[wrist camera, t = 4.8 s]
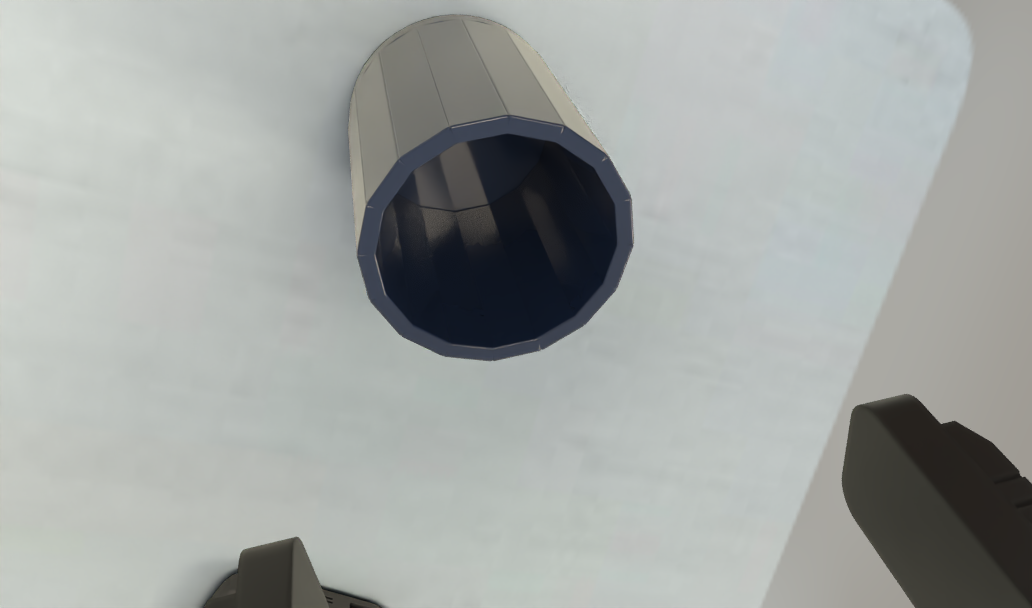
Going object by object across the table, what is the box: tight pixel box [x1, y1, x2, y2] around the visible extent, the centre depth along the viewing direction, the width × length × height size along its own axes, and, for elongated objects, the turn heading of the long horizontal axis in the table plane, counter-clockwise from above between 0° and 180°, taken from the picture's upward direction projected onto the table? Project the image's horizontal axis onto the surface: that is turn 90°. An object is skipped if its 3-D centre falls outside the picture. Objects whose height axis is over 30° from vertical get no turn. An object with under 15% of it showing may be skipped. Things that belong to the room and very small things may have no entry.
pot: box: [348, 15, 634, 361], centre depth 21 cm, size 6×6×8 cm
